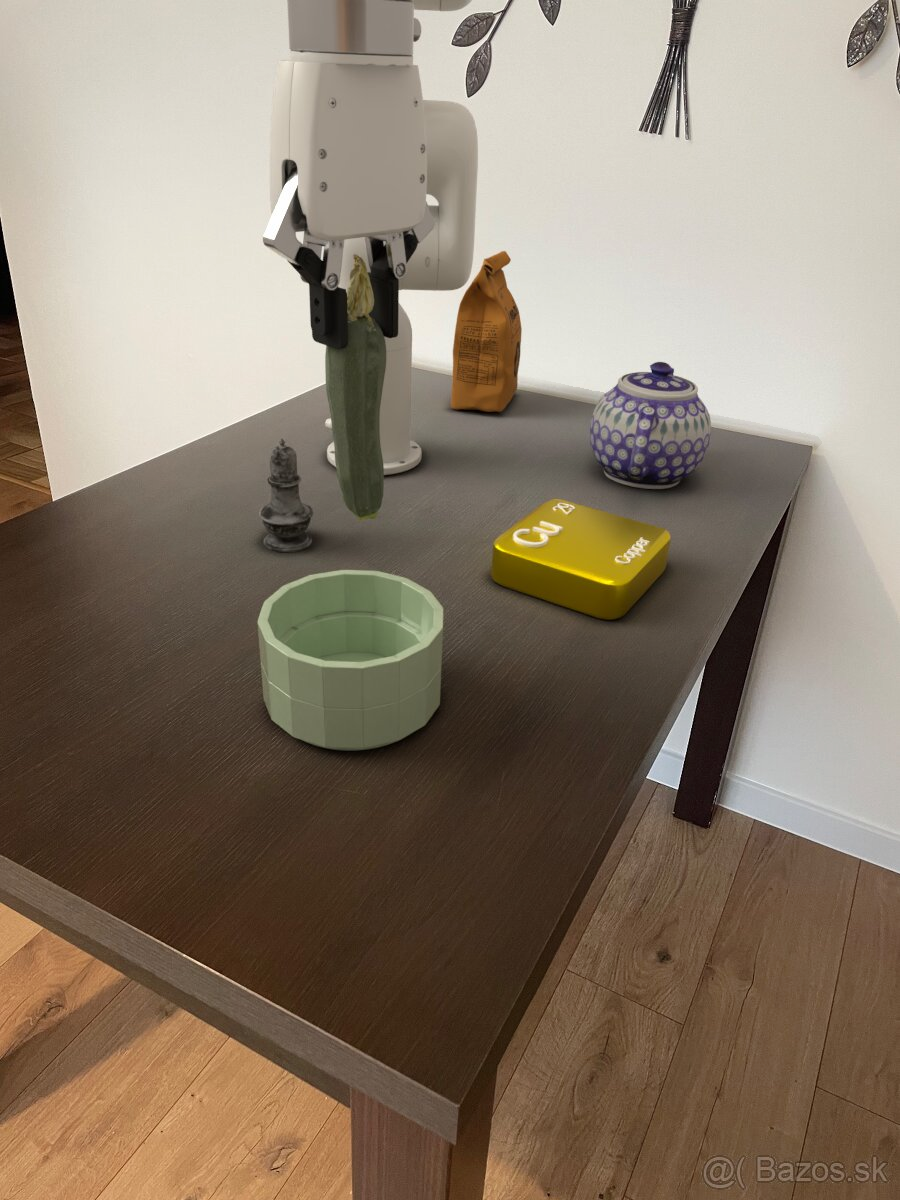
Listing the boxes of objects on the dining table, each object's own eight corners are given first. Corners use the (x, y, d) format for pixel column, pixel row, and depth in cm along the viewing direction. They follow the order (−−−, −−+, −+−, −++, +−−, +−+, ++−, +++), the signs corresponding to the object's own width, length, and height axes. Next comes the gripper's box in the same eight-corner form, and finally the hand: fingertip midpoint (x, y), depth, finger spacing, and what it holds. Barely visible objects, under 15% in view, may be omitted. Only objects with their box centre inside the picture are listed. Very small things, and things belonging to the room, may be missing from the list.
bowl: (231, 695, 78) (222, 609, 73) (363, 632, 87) (362, 553, 82) (340, 783, 69) (338, 692, 65) (475, 703, 78) (480, 618, 74)
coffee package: (526, 396, 148) (538, 252, 136) (503, 420, 138) (514, 267, 126) (468, 387, 151) (475, 245, 139) (441, 410, 141) (446, 259, 129)
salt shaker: (324, 536, 103) (321, 435, 97) (295, 558, 99) (290, 453, 92) (280, 524, 105) (274, 424, 99) (250, 545, 101) (241, 442, 94)
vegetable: (375, 539, 70) (377, 266, 60) (321, 531, 71) (313, 260, 61) (390, 515, 74) (394, 254, 64) (338, 508, 75) (334, 249, 65)
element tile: (616, 626, 89) (623, 583, 87) (483, 581, 96) (486, 540, 94) (670, 565, 101) (678, 526, 98) (548, 529, 107) (552, 491, 105)
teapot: (687, 523, 110) (711, 402, 102) (563, 499, 114) (576, 381, 106) (712, 451, 130) (733, 345, 123) (605, 433, 135) (619, 330, 127)
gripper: (410, 39, 63) (406, 311, 73) (196, 28, 53) (224, 347, 62) (491, 42, 59) (475, 331, 68) (274, 32, 48) (291, 374, 58)
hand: (355, 336), depth 65 cm, fingers closed on vegetable, 3 cm apart
